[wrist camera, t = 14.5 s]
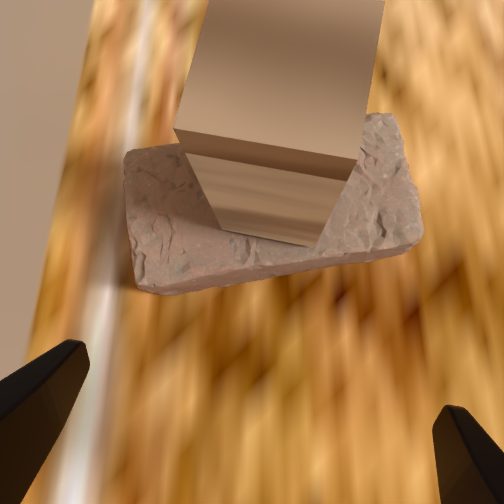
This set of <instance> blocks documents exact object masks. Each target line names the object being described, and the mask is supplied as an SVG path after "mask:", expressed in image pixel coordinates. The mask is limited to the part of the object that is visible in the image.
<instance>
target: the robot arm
mask: <svg viewBox="0 0 504 504" xmlns="http://www.w3.org/2000/svg"><path fill="white" fill-rule="evenodd" d="M89 367H90V361H89V357H88V353H87V349H86V345H85V343H84V342H83V341H78V340H72V339H68V340H65V341H64V342H62V343H60V344H59V345H57V346H55V347H54V348H52V349H51V350H49V351H47V352H46V353H44V354H43V355H41V356H39V357H38V358H36V359H35V360H33V361H31V362H30V363H28V364H26V365H25V366H23V367H22V368H20V369H18V370H17V371H15V372H14V373H12V374H10V375H9V376H8V377H5V378H4V379H2V380H1V381H0V504H20V503H21V502H22V500H23V498H24V496H25V495H26V493H27V491H28V489H29V488H30V486H31V484H32V482H33V481H34V479H35V477H36V475H37V473H38V472H39V470H40V468H41V466H42V465H43V463H44V461H45V459H46V458H47V456H48V454H49V452H50V451H51V449H52V447H53V445H54V444H55V442H56V440H57V438H58V436H59V435H60V433H61V431H62V429H63V427H64V425H65V423H66V421H67V419H68V416H69V414H70V412H71V410H72V407H73V405H74V403H75V401H76V398H77V396H78V394H79V392H80V389H81V387H82V385H83V383H84V380H85V378H86V376H87V374H88V371H89ZM432 435H433V443H434V452H435V460H436V469H437V477H438V486H439V493H440V500H441V504H504V452H503V451H502V450H501V449H500V448H499V446H498V445H497V444H496V443H495V442H494V441H493V440H492V438H491V437H490V436H489V435H488V434H487V433H486V431H485V430H484V429H483V428H482V427H481V426H480V424H479V423H478V422H477V421H476V420H475V419H474V417H473V416H472V415H471V414H470V413H469V412H468V411H467V410H466V409H465V408H463V407H459V406H454V405H445V406H444V407H443V409H442V410H441V412H440V414H439V415H438V417H437V419H436V420H435V422H434V424H433V429H432Z"/></svg>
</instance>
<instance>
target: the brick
mask: <svg viewBox="0 0 504 504" xmlns="http://www.w3.org/2000/svg"><path fill="white" fill-rule="evenodd" d="M124 174H125V176H126V179H125V181H124V190H125V208H126V220H127V228H128V234H129V242H130V250H131V256H132V266H133V270H134V275H135V283H136V285H137V287H138V289H142V290H145V291H147V292H149V293H150V292H151V293H157V294H159V295H179V294H183V293H188V292H194V291H201V290H203V289H205V288H209V287H213V286H218V287H228V286H231V285H234V284H239V283H246V282H252V281H257V280H263V279H268V278H272V277H276V276H282V275H287V274H292V273H297V272H301V271H309V270H313V269H320V268H326V267H330V266H336V265H342V264H350V263H363V262H370V261H374V260H378V259H382V258H386V257H392V256H396V255H401V254H404V253H406V252H408V251H409V250H410V249H411V248H412V246H414V245H416V244H417V243H418V242H419V241H420V239H421V237H422V235H423V233H424V228H423V222H422V217H421V209H420V203H419V199H418V189H417V187H416V186H415V185H414V184H413V183H412V178H411V175H410V173H409V165H408V163H407V161H406V158H405V154H404V140H403V138H402V136H401V134H400V130H399V125H398V121H397V120H396V118H395V117H394V116H393V114H390V113H384V114H381V113H372V114H366V115H365V121H364V127H363V133H362V139H361V144H360V150H359V156H358V161H357V163H356V165H355V167H354V169H353V171H352V173H351V175H350V177H349V179H348V181H347V183H346V185H345V187H344V189H343V191H342V193H341V195H340V197H339V199H338V201H337V203H336V205H335V207H334V209H333V211H332V213H331V215H330V217H329V219H328V221H327V223H326V225H325V227H324V229H323V231H322V233H321V235H320V237H319V239H318V241H317V243H316V245H315V247H309V246H304V245H298V244H293V243H288V242H283V241H278V240H273V239H268V238H263V237H258V236H253V235H248V234H243V233H237V232H232V231H227V230H222V229H221V226H220V224H219V222H218V220H217V218H216V216H215V214H214V212H213V210H212V208H211V206H210V204H209V202H208V200H207V198H206V195H205V193H204V191H203V189H202V187H201V185H200V183H199V181H198V179H197V177H196V175H195V173H194V171H193V169H192V167H191V164H190V162H189V160H188V158H187V156H186V154H185V152H184V150H183V148H182V146H181V144H180V143H176V144H168V145H162V146H155V147H149V148H144V149H134V150H131V151H129V152H127V153H126V155H125V157H124Z"/></svg>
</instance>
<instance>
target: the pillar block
mask: <svg viewBox="0 0 504 504" xmlns="http://www.w3.org/2000/svg"><path fill="white" fill-rule="evenodd" d="M384 4H385V1H382V0H209V4H208V7H207V11H206V14H205V18H204V21H203V25H202V28H201V32H200V35H199V39H198V42H197V46H196V49H195V53H194V56H193V60H192V63H191V67H190V70H189V74H188V77H187V81H186V84H185V88H184V91H183V95H182V98H181V102H180V105H179V108H178V112H177V115H176V119H175V122H174V126H173V129H174V131H175V133H176V136H177V138H178V140H179V142H180V144H181V146H182V148H183V150H184V152H185V154H186V156H187V158H188V160H189V162H190V164H191V167H192V169H193V171H194V173H195V175H196V177H197V179H198V181H199V183H200V185H201V187H202V189H203V191H204V193H205V195H206V198H207V200H208V202H209V204H210V206H211V208H212V210H213V212H214V214H215V216H216V218H217V220H218V222H219V224H220V226H221V229H222V230H227V231H232V232H237V233H243V234H248V235H253V236H258V237H263V238H268V239H273V240H278V241H283V242H288V243H293V244H298V245H304V246H309V247H315V245H316V243H317V241H318V239H319V237H320V235H321V233H322V231H323V229H324V227H325V225H326V223H327V221H328V219H329V217H330V215H331V213H332V211H333V209H334V207H335V205H336V203H337V201H338V199H339V197H340V195H341V193H342V191H343V189H344V187H345V185H346V183H347V181H348V179H349V177H350V175H351V173H352V171H353V169H354V167H355V165H356V163H357V161H358V156H359V150H360V144H361V139H362V133H363V127H364V121H365V115H366V109H367V103H368V97H369V92H370V86H371V80H372V74H373V68H374V62H375V56H376V51H377V45H378V39H379V33H380V27H381V21H382V15H383V10H384Z"/></svg>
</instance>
